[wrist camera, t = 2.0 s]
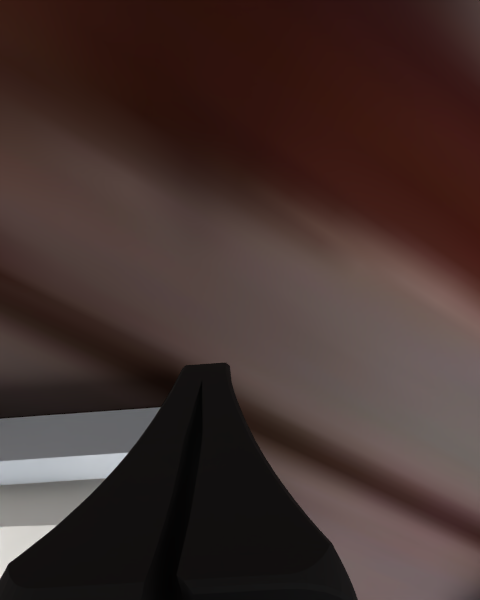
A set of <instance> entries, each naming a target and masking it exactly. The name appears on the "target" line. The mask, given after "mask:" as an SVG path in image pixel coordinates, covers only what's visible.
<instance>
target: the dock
mask: <svg viewBox="0 0 480 600" xmlns="http://www.w3.org/2000/svg"><path fill="white" fill-rule="evenodd" d="M160 408H161V407H157V408H143V409H129V410H115V411H101V412H87V413H73V414H58V415H44V416H30V417H16V418H2V419H0V485H12V484H27V483H42V482H57V481H72V480H87V479H102V478H107V477H108V476H109V474H110V473H111V472H112V471H113V470H114V469H115V468H116V467H117V466H118V464H119V463H120V462H121V461H122V460H123V459H124V457H125V456H126V455H127V454H128V453H129V451H130V450H131V449H132V447H133V446H134V445H135V444H136V442H137V441H138V440H139V438H140V437H141V436H142V434H143V433H144V431H145V430H146V429H147V427H148V426H149V424H150V423H151V422H152V420H153V419H154V417H155V416H156V414H157V412H158V411H159V409H160Z"/></svg>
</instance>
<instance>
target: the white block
mask: <svg viewBox="0 0 480 600" xmlns="http://www.w3.org/2000/svg"><path fill="white" fill-rule="evenodd" d="M105 479H106V478H102V479H87V480H72V481H57V482H42V483H27V484H12V485H0V578H1V576H2V575H3V573H4V571H5V569H6V567H7V565H8V564H9V563H10V562H11V561H13V560H14V559H15V558H17V557H18V556H19V555H20V554H22V553H23V552H24V551H26V550H27V549H28V548H29V547H31V546H32V545H33V544H34V543H36V542H37V541H38V540H40V539H41V538H42V537H43V536H45V535H46V534H47V533H48V532H50V531H51V530H52V529H53V528H54V527H56V526H57V525H58V524H59V523H60V522H61V521H62V520H63V519H65V518H66V517H67V516H68V515H69V514H70V513H71V512H72V511H73V510H74V509H75V508H77V507H78V506H79V505H80V504H81V503H82V502H83V501H84V500H85V499H86V498H87V497H88V496H89V495H90V494H91V493H92V492H93V491H94V490H95V489H96V488H97V487H98V486H99V485H100V484H101V483H102V482H103V481H104V480H105Z"/></svg>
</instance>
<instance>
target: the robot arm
mask: <svg viewBox="0 0 480 600" xmlns="http://www.w3.org/2000/svg"><path fill="white" fill-rule="evenodd" d="M0 600H357V597H356V594H355V591H354V588H353V585H352V583H351V581H350V578H349V576H348V574H347V572H346V570H345V568H344V566H343V564H342V562H341V560H340V558H339V556H338V554H337V552H336V550H335V548H334V546H333V544H332V543H331V542H330V541H329V540H328V539H327V537H326V536H325V535H324V534H323V533H322V532H321V531H320V530H319V529H318V528H317V526H316V525H315V524H314V523H313V522H312V521H311V520H310V518H309V517H308V516H307V515H306V514H305V512H304V511H303V510H302V509H301V507H300V506H299V505H298V504H297V502H296V501H295V500H294V499H293V497H292V496H291V494H290V493H289V492H288V490H287V489H286V488H285V486H284V485H283V484H282V482H281V481H280V479H279V478H278V477H277V475H276V474H275V472H274V471H273V469H272V468H271V466H270V464H269V463H268V461H267V460H266V458H265V456H264V455H263V453H262V451H261V450H260V448H259V446H258V444H257V443H256V441H255V439H254V437H253V435H252V433H251V431H250V429H249V427H248V425H247V423H246V421H245V418H244V416H243V414H242V411H241V409H240V406H239V404H238V401H237V399H236V396H235V393H234V389H233V386H232V382H231V373H230V366H229V365H228V364H227V363H214V364H200V365H186V366H185V367H184V368H183V369H182V370H181V373H180V375H179V376H178V378H177V380H176V382H175V384H174V386H173V388H172V389H171V391H170V393H169V395H168V396H167V398H166V400H165V401H164V403H163V404H162V406H161V408H160V409H159V411H158V412H157V414H156V416H155V417H154V419H153V420H152V422H151V423H150V424H149V426H148V427H147V429H146V430H145V431H144V433H143V434H142V436H141V437H140V438H139V440H138V441H137V442H136V444H135V445H134V446H133V447H132V449H131V450H130V451H129V453H128V454H127V455H126V456H125V457H124V459H123V460H122V461H121V462H120V463H119V464H118V466H117V467H116V468H115V469H114V470H113V471H112V472H111V473H110V474H109V476H108V477H107V478H106V479H105V480H104V481H103V482H102V483H101V484H100V485H99V486H98V487H97V488H96V489H95V490H94V491H93V492H92V493H91V494H90V495H89V496H88V497H87V498H86V499H85V500H84V501H83V502H82V503H81V504H80V505H79V506H78V507H77V508H75V509H74V510H73V511H72V512H71V513H70V514H69V515H68V516H67V517H66V518H65V519H63V520H62V521H61V522H60V523H59V524H58V525H57V526H56V527H54V528H53V529H52V530H51V531H50V532H48V533H47V534H46V535H45V536H43V537H42V538H41V539H40V540H38V541H37V542H36V543H34V544H33V545H32V546H31V547H29V548H28V549H27V550H26V551H24V552H23V553H22V554H20V555H19V556H18V557H17V558H15V559H14V560H13V561H11V562H10V563H9V564H8V565H7V567H6V569H5V571H4V573H3V575H2V576H1V578H0Z"/></svg>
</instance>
